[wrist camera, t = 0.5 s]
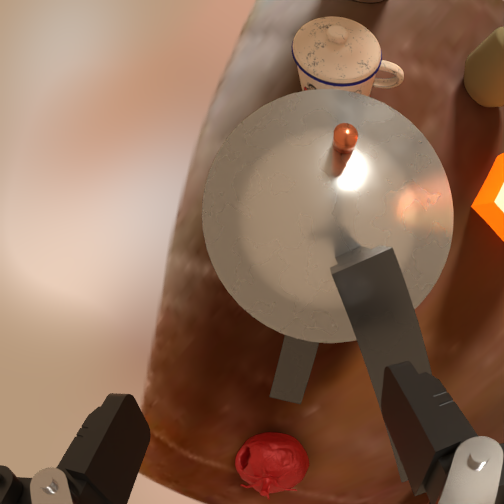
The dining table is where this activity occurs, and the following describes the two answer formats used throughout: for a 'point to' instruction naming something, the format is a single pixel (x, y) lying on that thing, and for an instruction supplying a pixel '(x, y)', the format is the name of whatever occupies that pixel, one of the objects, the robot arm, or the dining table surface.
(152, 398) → the dining table surface
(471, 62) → the squeeze bottle
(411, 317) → the cooker lid
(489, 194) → the orange juice
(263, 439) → the pomegranate
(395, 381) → the robot arm
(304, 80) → the teacup with lid
